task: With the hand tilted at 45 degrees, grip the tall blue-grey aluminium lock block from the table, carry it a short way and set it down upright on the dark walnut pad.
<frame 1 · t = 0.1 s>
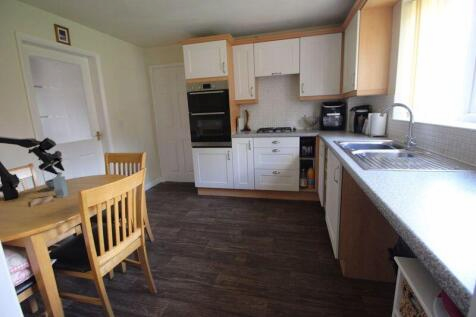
hand: (60, 172, 156), 15 cm above the table, tool tilted 35°, fingers open, 9 cm apart
walnut pad: (42, 201, 144), on the table
mortar and pestle: (56, 189, 168), on the table
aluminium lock: (62, 196, 153), on the table
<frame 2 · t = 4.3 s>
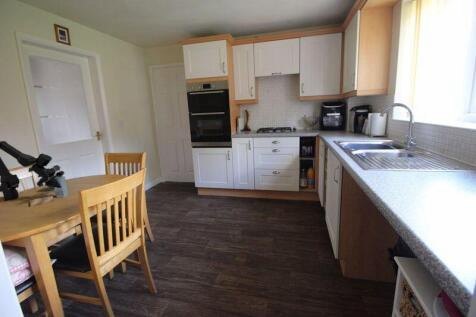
hand: (62, 186, 152), 7 cm above the table, tool tilted 45°, fingers closed on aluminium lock, 4 cm apart
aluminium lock: (62, 195, 153), on the table, touching gripper
everything else where it was.
when the fingers open (9 cm above the table, at t = 9.5 s): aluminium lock drops 1 cm, resting on walnut pad.
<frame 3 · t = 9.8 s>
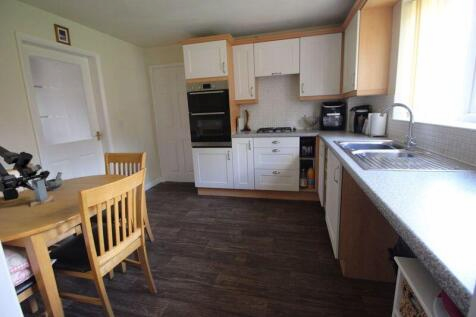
hand: (40, 187, 142), 9 cm above the table, tool tilted 45°, fingers open, 7 cm apart
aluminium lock: (41, 199, 144), point 1 cm above the table, touching walnut pad
everything else where it was.
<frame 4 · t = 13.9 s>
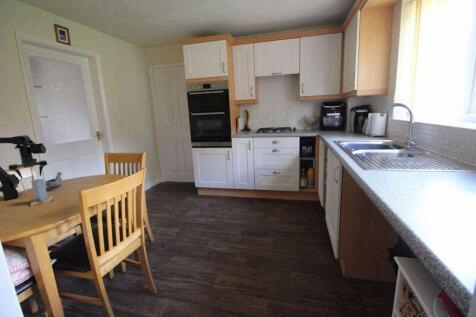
hand: (31, 177, 152), 13 cm above the table, tool pointing down, fingers open, 9 cm apart
nothing on the table moved.
at the end: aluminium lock inside the target area on the walnut pad (0.0 cm from its centre), point 1.2 cm above the walnut pad's base; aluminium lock tilted 0°; the gripper is holding nothing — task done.
